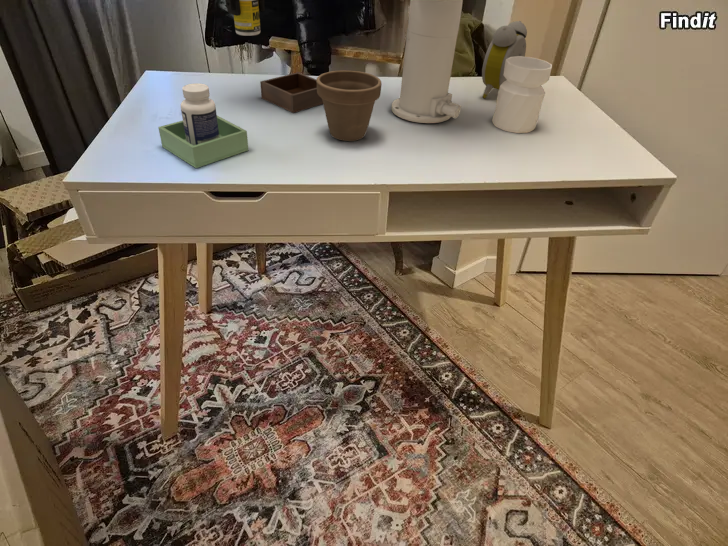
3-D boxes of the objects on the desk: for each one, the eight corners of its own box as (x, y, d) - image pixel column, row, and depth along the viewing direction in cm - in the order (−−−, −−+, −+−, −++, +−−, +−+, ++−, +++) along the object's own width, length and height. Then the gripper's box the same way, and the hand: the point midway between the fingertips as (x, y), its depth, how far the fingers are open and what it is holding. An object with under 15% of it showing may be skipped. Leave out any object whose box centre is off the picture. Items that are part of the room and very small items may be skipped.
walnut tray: (330, 101, 105) (330, 84, 103) (293, 113, 99) (292, 95, 97) (298, 88, 110) (298, 72, 108) (261, 98, 104) (260, 81, 102)
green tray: (248, 150, 85) (246, 130, 83) (195, 168, 79) (192, 147, 77) (214, 131, 90) (211, 112, 88) (162, 146, 84) (158, 126, 82)
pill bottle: (226, 142, 86) (219, 85, 80) (209, 155, 82) (200, 95, 76) (199, 136, 87) (190, 79, 81) (180, 148, 83) (170, 89, 77)
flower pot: (316, 121, 97) (316, 67, 90) (374, 122, 98) (378, 69, 91) (316, 146, 88) (316, 89, 81) (380, 148, 89) (385, 91, 83)
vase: (522, 137, 97) (539, 73, 89) (483, 123, 101) (497, 61, 94) (542, 125, 102) (561, 64, 94) (505, 112, 106) (519, 53, 99)
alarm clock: (496, 85, 120) (511, 17, 111) (523, 92, 117) (541, 23, 108) (475, 98, 112) (489, 25, 103) (503, 105, 110) (520, 32, 100)
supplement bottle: (258, 36, 94) (253, -15, 89) (233, 35, 94) (227, -16, 89) (262, 30, 98) (258, -19, 92) (238, 29, 98) (233, -20, 92)
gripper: (201, -110, 75) (219, 22, 87) (288, -109, 85) (294, 9, 96) (175, -112, 79) (195, 14, 90) (261, -111, 89) (269, 3, 100)
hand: (246, 11), depth 93 cm, fingers closed on supplement bottle, 4 cm apart
